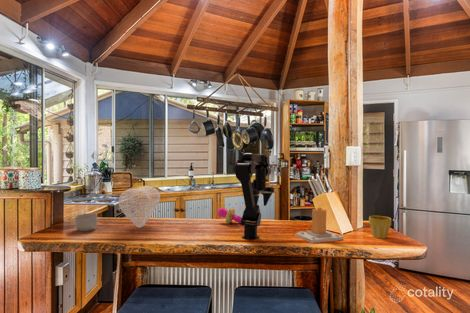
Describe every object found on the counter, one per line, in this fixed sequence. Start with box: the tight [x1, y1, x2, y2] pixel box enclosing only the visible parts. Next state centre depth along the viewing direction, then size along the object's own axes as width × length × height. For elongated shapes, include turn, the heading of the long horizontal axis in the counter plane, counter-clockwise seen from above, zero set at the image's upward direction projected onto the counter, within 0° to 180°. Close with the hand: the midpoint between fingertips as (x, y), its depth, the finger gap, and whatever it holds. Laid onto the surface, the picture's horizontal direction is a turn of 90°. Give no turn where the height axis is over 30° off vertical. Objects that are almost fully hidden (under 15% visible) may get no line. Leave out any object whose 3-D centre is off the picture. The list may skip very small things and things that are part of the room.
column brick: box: [311, 207, 327, 235], centre depth 155 cm, size 5×5×13 cm
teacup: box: [74, 212, 98, 232], centre depth 167 cm, size 14×11×8 cm
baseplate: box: [294, 230, 344, 244], centre depth 155 cm, size 18×14×3 cm
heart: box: [118, 185, 161, 229], centre depth 172 cm, size 28×16×22 cm, turn 168°
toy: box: [217, 207, 242, 225], centre depth 185 cm, size 10×18×10 cm, turn 68°
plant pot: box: [368, 215, 392, 239], centre depth 158 cm, size 10×10×10 cm
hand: (260, 206), depth 167 cm, fingers open, 9 cm apart
